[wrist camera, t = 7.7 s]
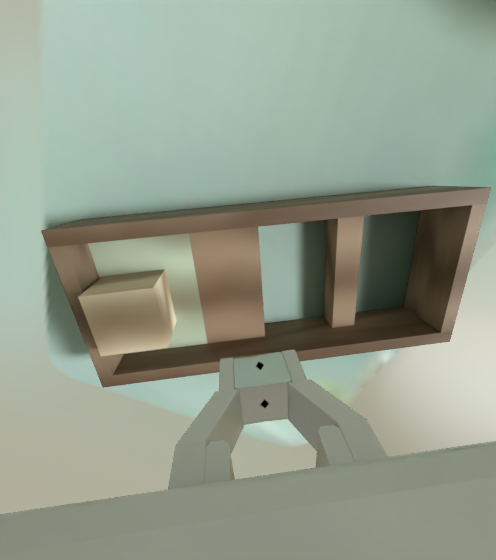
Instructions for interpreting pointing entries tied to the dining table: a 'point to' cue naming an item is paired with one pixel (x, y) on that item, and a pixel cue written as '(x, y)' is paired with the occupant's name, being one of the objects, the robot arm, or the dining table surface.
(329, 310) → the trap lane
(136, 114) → the dining table surface
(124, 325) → the block
